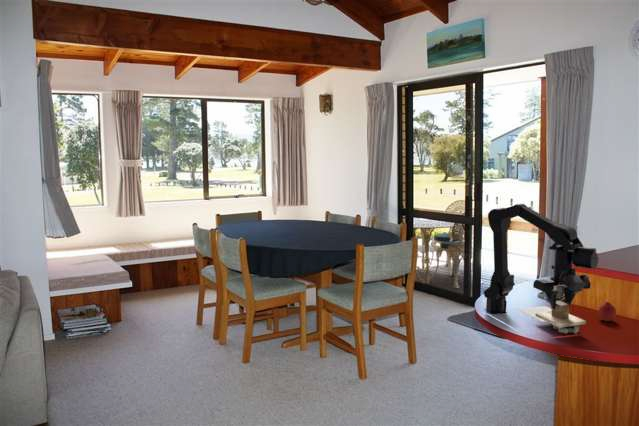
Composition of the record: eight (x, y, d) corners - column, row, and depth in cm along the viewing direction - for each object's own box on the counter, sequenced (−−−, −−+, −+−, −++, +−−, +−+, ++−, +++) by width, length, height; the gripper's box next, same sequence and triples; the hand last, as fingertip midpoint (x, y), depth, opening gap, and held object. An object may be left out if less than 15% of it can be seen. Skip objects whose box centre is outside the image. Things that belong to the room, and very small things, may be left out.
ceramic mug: (564, 297, 230) (564, 279, 229) (566, 302, 222) (567, 284, 221) (536, 295, 233) (537, 277, 232) (538, 300, 225) (538, 282, 224)
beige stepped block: (559, 327, 182) (559, 310, 182) (535, 316, 195) (535, 299, 194) (585, 323, 185) (585, 306, 184) (560, 312, 197) (560, 296, 196)
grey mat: (542, 323, 197) (542, 321, 197) (516, 309, 212) (516, 308, 212) (573, 320, 200) (573, 319, 200) (545, 307, 215) (545, 306, 215)
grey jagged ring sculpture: (581, 336, 185) (582, 324, 185) (559, 336, 185) (559, 324, 184) (566, 325, 196) (567, 314, 195) (545, 325, 196) (546, 314, 195)
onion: (613, 320, 200) (615, 299, 199) (616, 325, 195) (618, 303, 194) (596, 318, 202) (597, 297, 201) (598, 323, 197) (600, 301, 196)
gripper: (555, 270, 177) (552, 317, 179) (604, 267, 182) (600, 313, 184) (533, 263, 188) (531, 307, 190) (580, 260, 193) (577, 304, 195)
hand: (560, 308), depth 189 cm, fingers open, 5 cm apart
